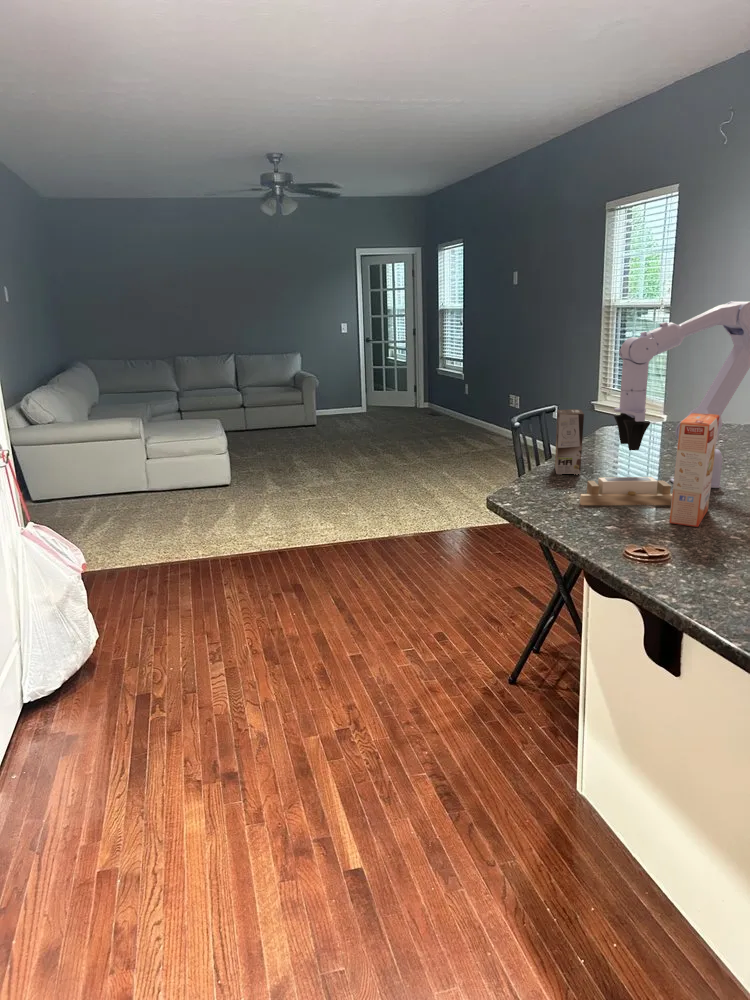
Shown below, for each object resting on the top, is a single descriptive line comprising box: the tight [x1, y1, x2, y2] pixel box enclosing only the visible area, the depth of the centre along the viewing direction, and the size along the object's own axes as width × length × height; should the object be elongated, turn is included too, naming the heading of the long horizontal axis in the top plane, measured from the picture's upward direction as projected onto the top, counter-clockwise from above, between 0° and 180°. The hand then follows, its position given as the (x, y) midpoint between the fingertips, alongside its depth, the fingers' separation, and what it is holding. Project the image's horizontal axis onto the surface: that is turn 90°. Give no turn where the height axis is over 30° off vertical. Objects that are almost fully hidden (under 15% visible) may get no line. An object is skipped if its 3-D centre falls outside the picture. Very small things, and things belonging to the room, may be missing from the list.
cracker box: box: [669, 413, 720, 528], centre depth 143 cm, size 14×6×21 cm, turn 148°
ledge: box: [579, 480, 672, 506], centre depth 158 cm, size 22×7×4 cm, turn 86°
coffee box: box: [554, 408, 585, 476], centre depth 186 cm, size 9×6×16 cm
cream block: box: [597, 476, 659, 494], centre depth 159 cm, size 12×4×5 cm, turn 88°
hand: (629, 446), depth 168 cm, fingers open, 7 cm apart
